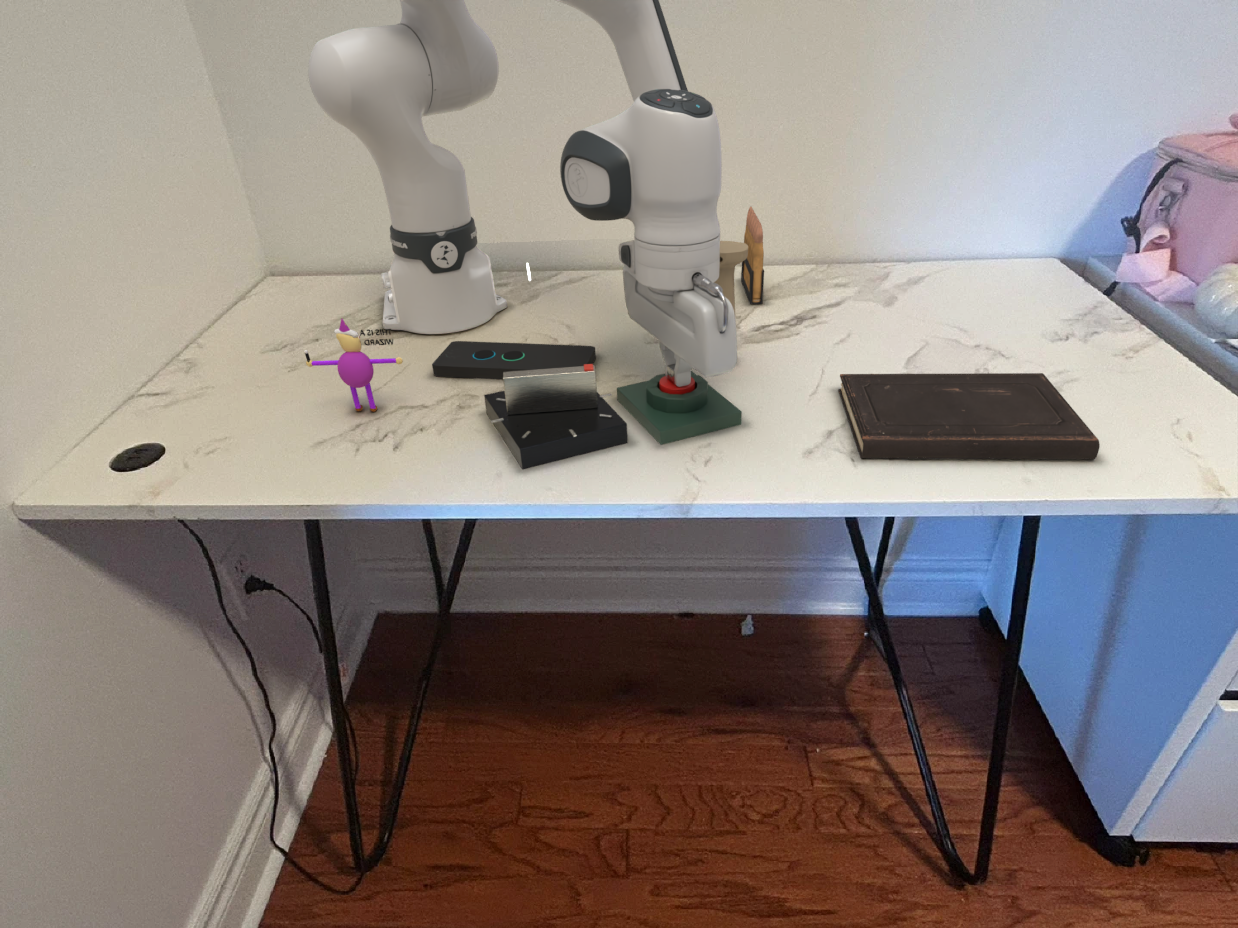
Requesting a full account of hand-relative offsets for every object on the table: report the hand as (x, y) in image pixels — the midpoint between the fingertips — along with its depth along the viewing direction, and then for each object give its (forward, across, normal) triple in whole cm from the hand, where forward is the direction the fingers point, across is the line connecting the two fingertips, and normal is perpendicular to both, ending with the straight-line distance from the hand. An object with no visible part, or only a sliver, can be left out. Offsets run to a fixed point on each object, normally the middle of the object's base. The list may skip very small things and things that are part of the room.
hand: (677, 381), depth 93 cm
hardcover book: (+4, -16, -26) cm, 31 cm away
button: (+2, 0, 0) cm, 2 cm away
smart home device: (+4, +21, +13) cm, 25 cm away
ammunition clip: (+4, +30, -28) cm, 41 cm away
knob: (+1, +3, +14) cm, 14 cm away
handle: (+4, +10, -11) cm, 16 cm away
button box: (+4, 0, 0) cm, 4 cm away
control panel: (+4, +3, +14) cm, 15 cm away
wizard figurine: (+4, +17, +33) cm, 37 cm away
